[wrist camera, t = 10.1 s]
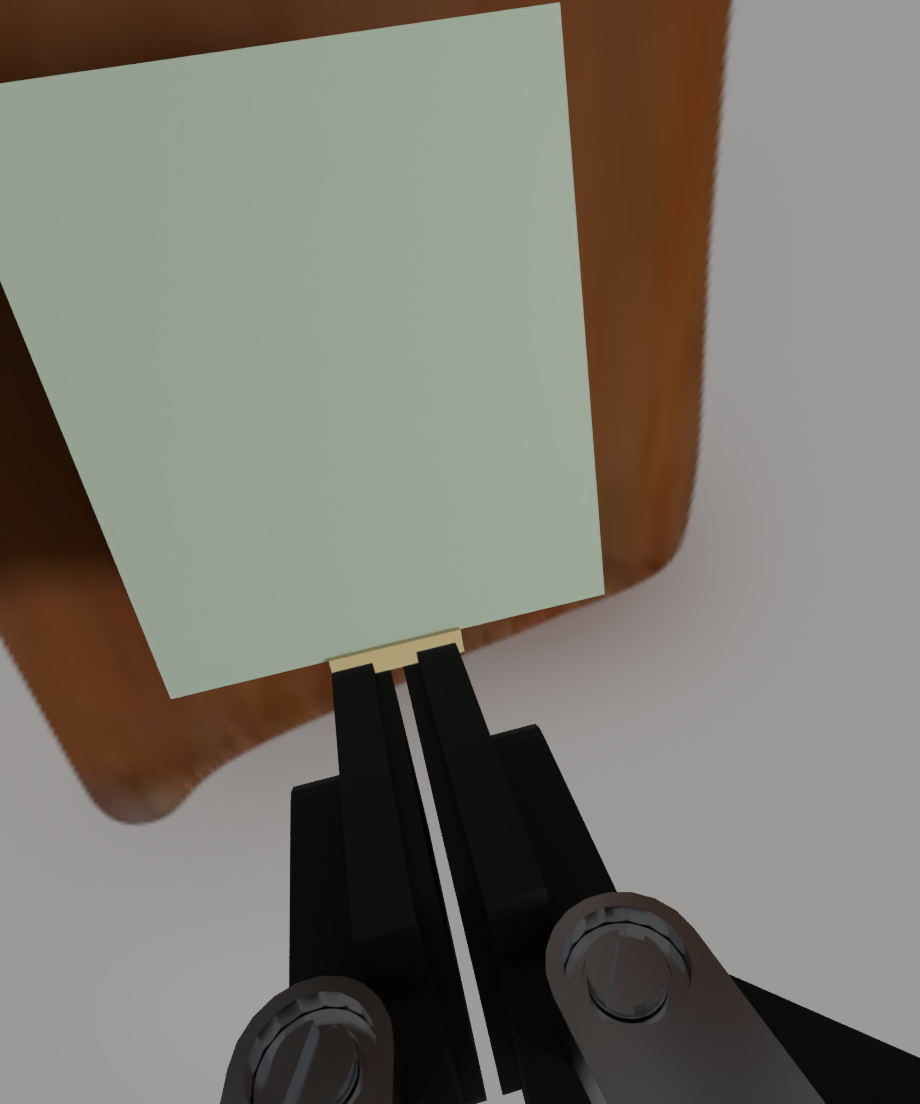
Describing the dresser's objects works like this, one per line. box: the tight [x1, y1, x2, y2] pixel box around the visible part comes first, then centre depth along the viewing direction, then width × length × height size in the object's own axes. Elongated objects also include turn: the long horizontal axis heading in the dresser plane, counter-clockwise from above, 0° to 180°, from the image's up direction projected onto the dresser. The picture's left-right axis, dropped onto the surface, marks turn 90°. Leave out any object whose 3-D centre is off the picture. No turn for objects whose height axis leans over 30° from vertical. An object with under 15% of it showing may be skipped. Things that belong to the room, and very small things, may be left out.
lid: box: [0, 2, 605, 699], centre depth 25 cm, size 20×17×3 cm
